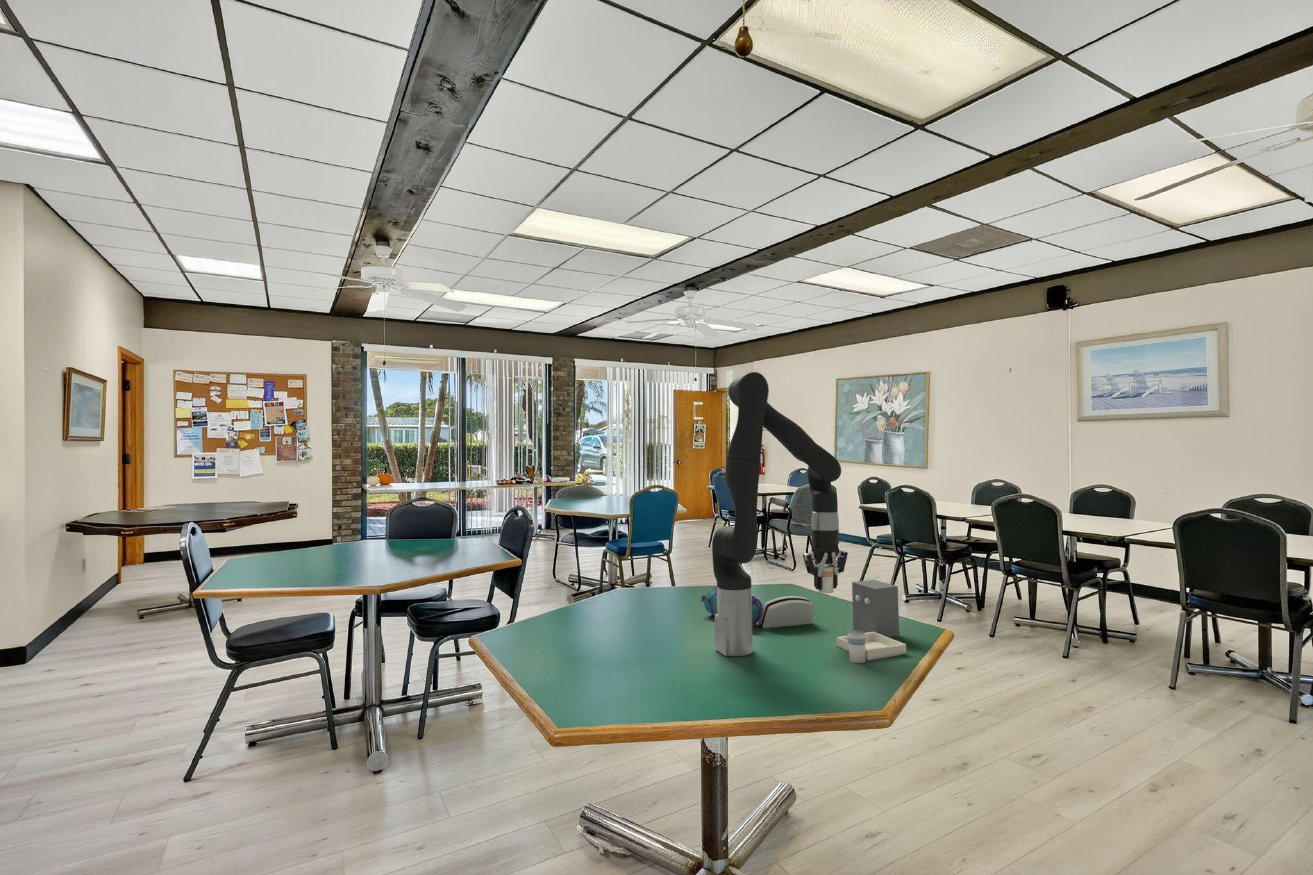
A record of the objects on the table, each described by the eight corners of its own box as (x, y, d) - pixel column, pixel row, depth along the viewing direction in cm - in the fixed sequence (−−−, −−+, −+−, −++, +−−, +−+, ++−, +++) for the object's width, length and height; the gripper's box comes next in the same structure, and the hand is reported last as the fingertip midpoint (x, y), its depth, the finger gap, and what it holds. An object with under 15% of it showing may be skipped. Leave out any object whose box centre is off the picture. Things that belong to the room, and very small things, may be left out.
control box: (874, 639, 172) (873, 589, 172) (851, 629, 182) (850, 582, 182) (900, 635, 175) (899, 586, 176) (876, 626, 185) (874, 579, 185)
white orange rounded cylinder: (824, 593, 170) (823, 568, 170) (815, 590, 174) (814, 565, 174) (837, 592, 171) (836, 567, 171) (827, 589, 175) (827, 564, 175)
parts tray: (867, 660, 155) (867, 650, 155) (836, 646, 167) (836, 637, 167) (906, 654, 159) (906, 644, 160) (873, 640, 171) (873, 631, 171)
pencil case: (700, 615, 200) (700, 586, 201) (721, 611, 205) (721, 582, 206) (744, 630, 183) (743, 598, 184) (765, 625, 188) (765, 593, 189)
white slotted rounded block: (805, 618, 194) (810, 591, 191) (812, 627, 190) (817, 599, 187) (756, 623, 190) (760, 595, 187) (763, 633, 185) (767, 604, 182)
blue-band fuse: (855, 664, 153) (854, 635, 153) (845, 658, 157) (844, 631, 157) (870, 661, 154) (868, 633, 154) (859, 656, 158) (858, 629, 158)
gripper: (837, 525, 179) (838, 584, 178) (795, 527, 174) (796, 588, 173) (854, 527, 172) (855, 589, 171) (811, 530, 167) (812, 593, 166)
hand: (825, 588), depth 172 cm, fingers closed on white orange rounded cylinder, 4 cm apart
